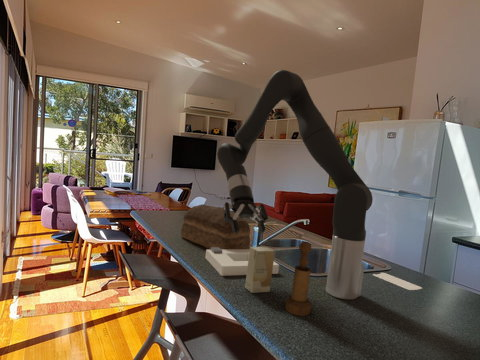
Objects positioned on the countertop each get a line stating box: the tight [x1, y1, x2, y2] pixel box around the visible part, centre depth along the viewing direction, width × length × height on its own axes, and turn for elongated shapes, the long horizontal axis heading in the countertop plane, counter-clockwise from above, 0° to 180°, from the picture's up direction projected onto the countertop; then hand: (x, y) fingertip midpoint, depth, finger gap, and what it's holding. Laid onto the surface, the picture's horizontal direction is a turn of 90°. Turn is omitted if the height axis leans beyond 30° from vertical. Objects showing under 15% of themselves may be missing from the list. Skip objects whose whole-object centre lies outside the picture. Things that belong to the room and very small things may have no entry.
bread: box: [180, 204, 251, 250], centre depth 149 cm, size 15×32×16 cm, turn 44°
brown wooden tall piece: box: [284, 241, 312, 317], centre depth 93 cm, size 7×6×18 cm
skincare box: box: [244, 246, 276, 294], centre depth 104 cm, size 6×4×12 cm
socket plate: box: [204, 247, 280, 277], centre depth 125 cm, size 20×18×4 cm
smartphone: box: [370, 271, 424, 292], centre depth 126 cm, size 8×1×16 cm
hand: (249, 232), depth 112 cm, fingers open, 8 cm apart
